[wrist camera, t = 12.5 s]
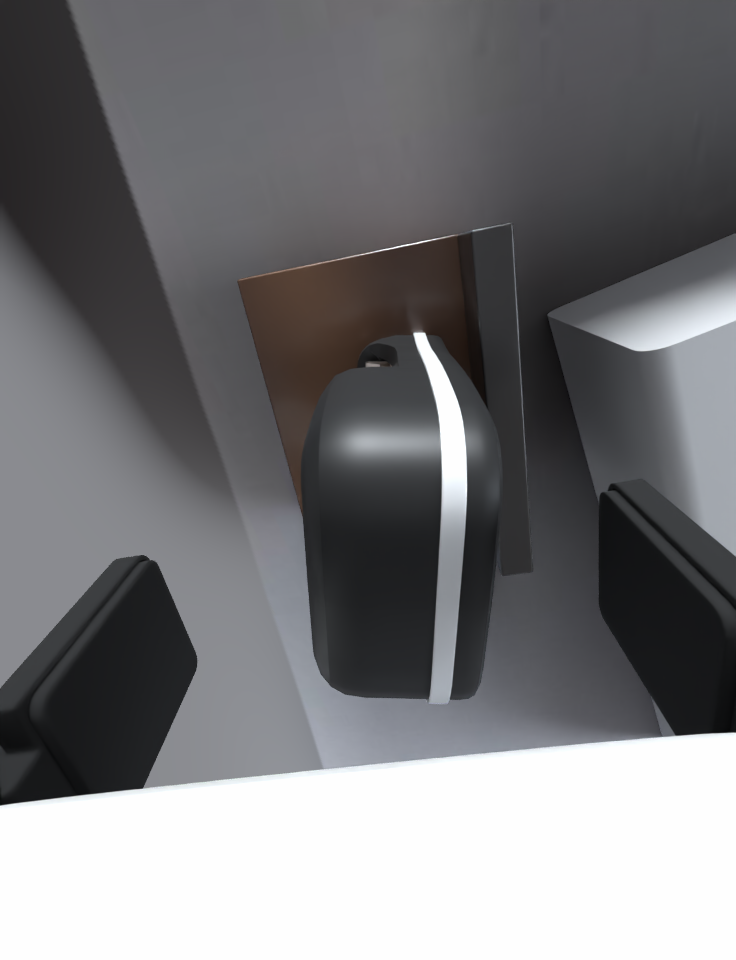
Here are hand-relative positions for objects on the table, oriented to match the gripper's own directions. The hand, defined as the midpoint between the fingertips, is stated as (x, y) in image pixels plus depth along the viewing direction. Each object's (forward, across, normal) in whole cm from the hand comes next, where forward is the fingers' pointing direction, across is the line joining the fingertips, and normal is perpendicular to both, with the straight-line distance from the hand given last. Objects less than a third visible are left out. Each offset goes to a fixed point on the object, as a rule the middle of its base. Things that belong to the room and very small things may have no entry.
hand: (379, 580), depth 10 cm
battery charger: (+10, 0, 0) cm, 10 cm away
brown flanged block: (+15, 0, 0) cm, 15 cm away
